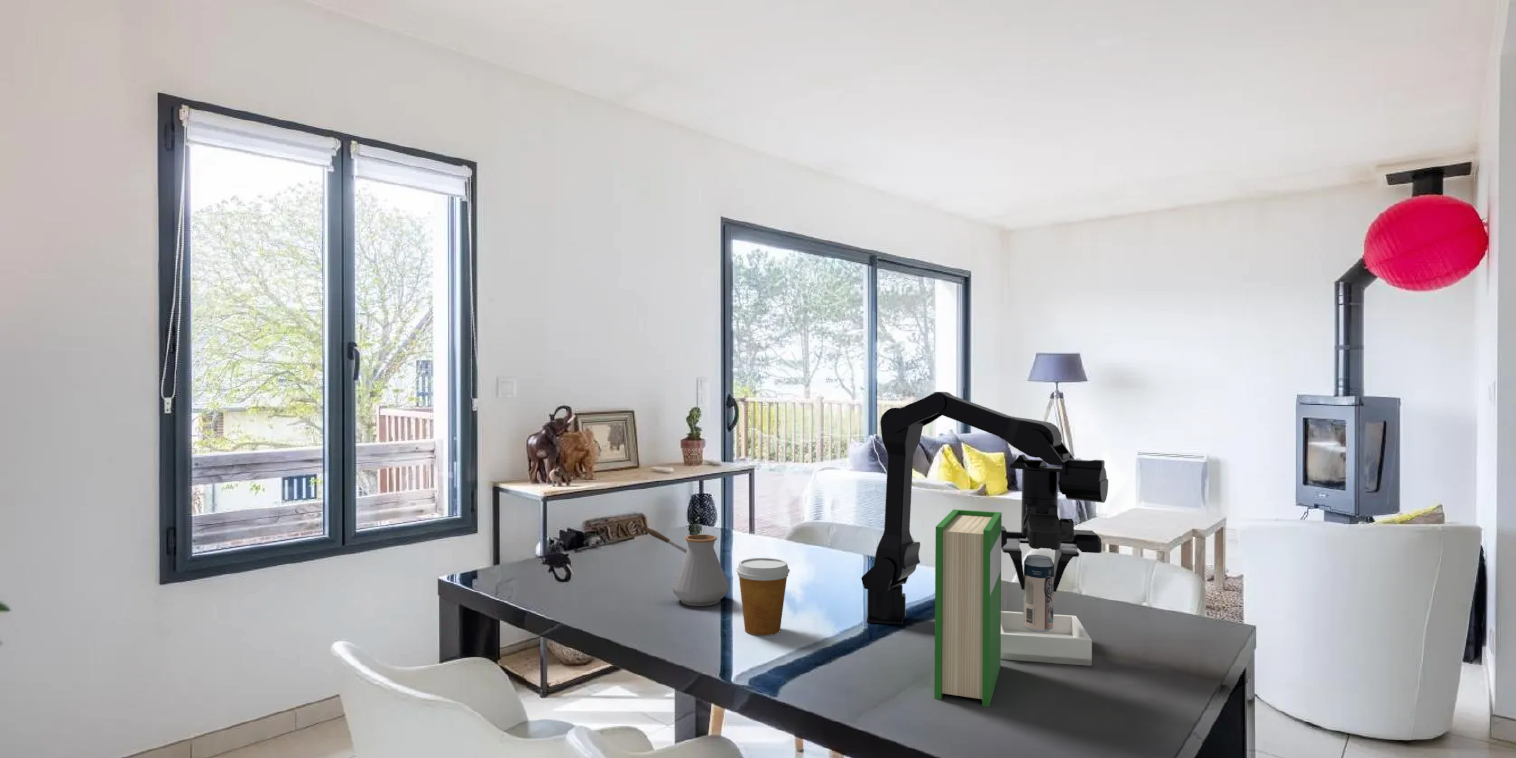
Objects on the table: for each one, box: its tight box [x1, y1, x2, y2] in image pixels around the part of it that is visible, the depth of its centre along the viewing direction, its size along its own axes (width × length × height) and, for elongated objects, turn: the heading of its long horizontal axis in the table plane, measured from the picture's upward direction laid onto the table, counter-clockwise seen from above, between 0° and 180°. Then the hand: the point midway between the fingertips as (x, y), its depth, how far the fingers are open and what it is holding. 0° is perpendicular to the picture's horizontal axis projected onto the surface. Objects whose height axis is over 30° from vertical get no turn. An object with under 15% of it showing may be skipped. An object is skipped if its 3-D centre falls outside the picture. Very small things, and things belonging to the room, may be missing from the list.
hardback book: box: [933, 508, 1003, 708], centre depth 120 cm, size 18×7×24 cm, turn 158°
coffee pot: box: [630, 521, 730, 607], centre depth 165 cm, size 21×12×15 cm, turn 70°
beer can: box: [1023, 554, 1055, 632], centre depth 135 cm, size 5×5×12 cm
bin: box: [1001, 610, 1093, 667], centre depth 135 cm, size 14×14×4 cm
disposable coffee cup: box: [735, 557, 791, 636], centre depth 144 cm, size 10×10×12 cm
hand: (1038, 590), depth 135 cm, fingers closed on beer can, 5 cm apart
